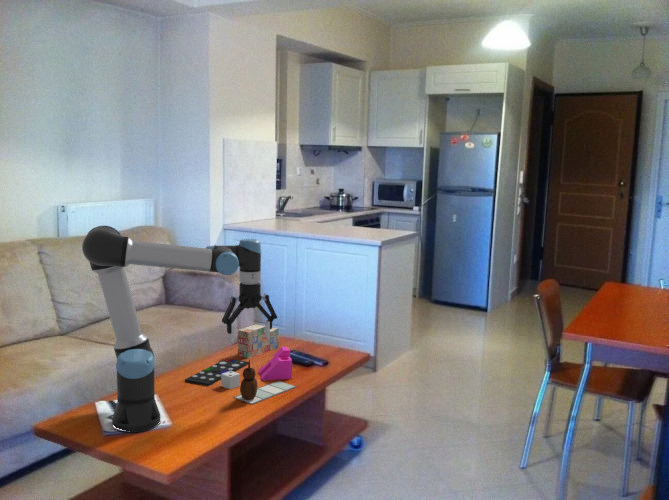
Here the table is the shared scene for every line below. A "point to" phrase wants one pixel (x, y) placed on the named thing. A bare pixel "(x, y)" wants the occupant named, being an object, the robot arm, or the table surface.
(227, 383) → the die
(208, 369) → the remote control
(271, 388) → the game mat
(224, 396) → the table surface
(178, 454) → the table surface
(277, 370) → the bracket
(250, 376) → the wooden figurine
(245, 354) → the stack of blocks
